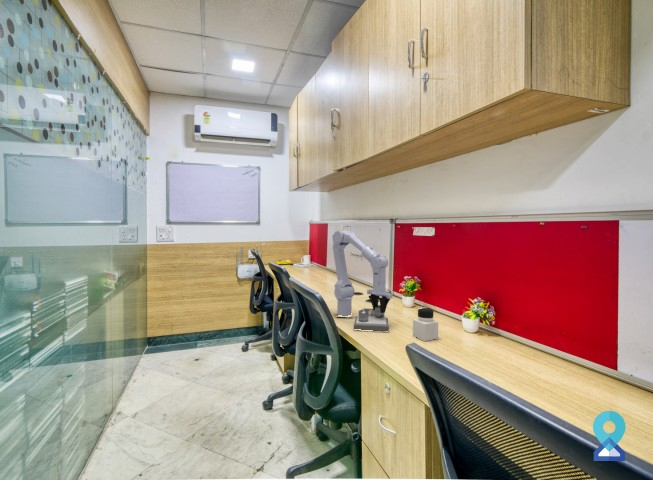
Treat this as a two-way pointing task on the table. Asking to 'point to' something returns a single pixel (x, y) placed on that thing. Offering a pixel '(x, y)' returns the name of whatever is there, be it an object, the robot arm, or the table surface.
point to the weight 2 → (378, 312)
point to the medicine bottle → (425, 325)
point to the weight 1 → (363, 315)
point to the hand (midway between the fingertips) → (379, 311)
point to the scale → (372, 322)
